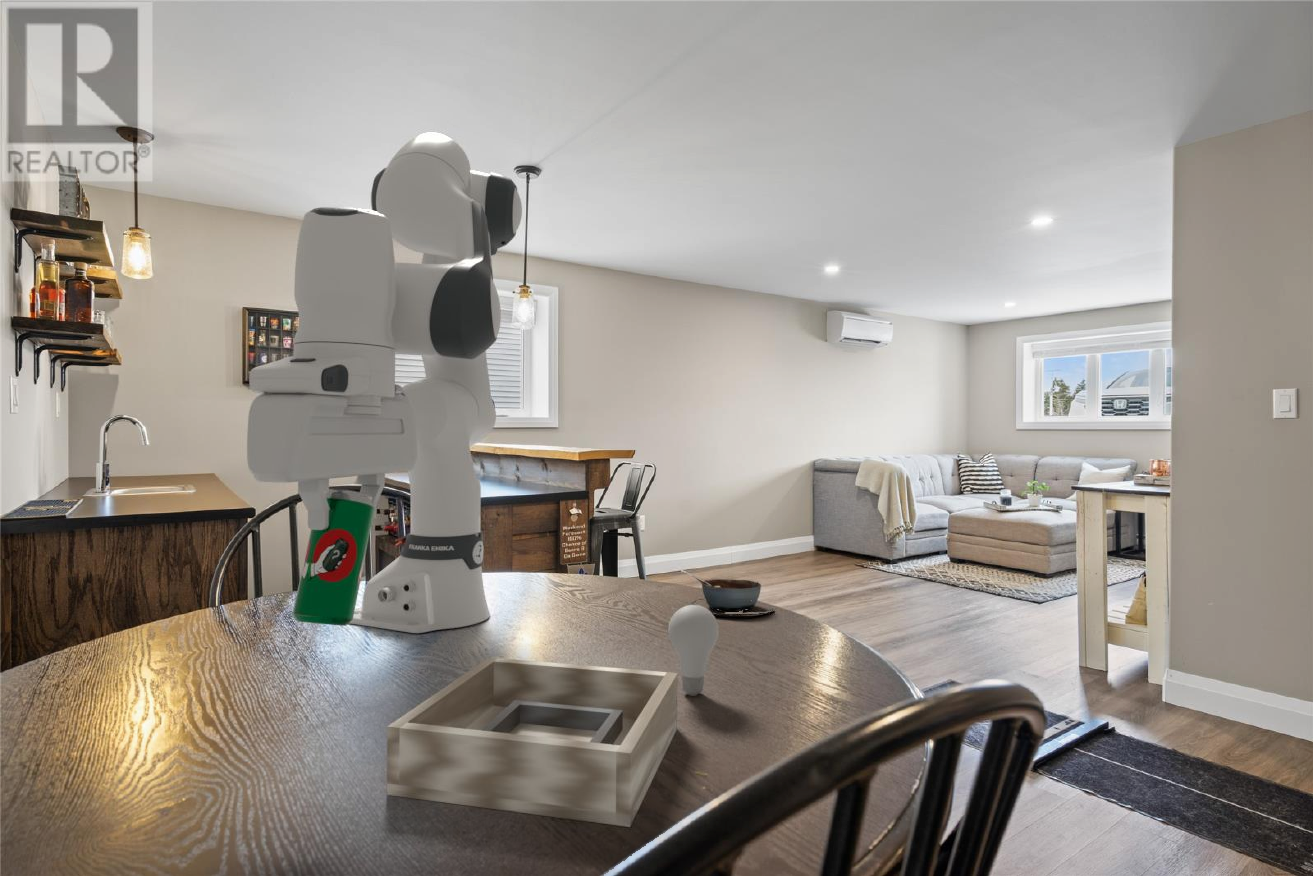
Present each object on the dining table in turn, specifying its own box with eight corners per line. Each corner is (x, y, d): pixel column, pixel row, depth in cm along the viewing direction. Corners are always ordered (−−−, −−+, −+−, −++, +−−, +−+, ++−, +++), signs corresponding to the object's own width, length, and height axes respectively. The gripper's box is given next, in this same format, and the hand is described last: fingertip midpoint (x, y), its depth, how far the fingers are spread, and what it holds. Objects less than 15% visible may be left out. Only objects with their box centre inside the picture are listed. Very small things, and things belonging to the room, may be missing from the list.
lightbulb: (665, 687, 91) (666, 599, 91) (713, 686, 91) (714, 599, 91) (670, 706, 85) (671, 612, 85) (722, 704, 85) (723, 611, 85)
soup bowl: (752, 629, 119) (752, 584, 119) (668, 615, 127) (668, 573, 127) (786, 611, 131) (787, 570, 131) (708, 599, 140) (708, 561, 140)
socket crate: (386, 794, 64) (387, 726, 63) (488, 709, 83) (488, 657, 83) (630, 827, 59) (630, 753, 59) (677, 728, 78) (677, 673, 78)
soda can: (363, 627, 66) (388, 498, 70) (313, 622, 62) (342, 486, 66) (328, 624, 69) (354, 500, 72) (278, 619, 65) (308, 488, 68)
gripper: (381, 385, 79) (379, 511, 80) (233, 369, 59) (231, 538, 60) (433, 385, 78) (431, 513, 78) (299, 369, 58) (297, 542, 58)
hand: (343, 524), depth 69 cm, fingers closed on soda can, 5 cm apart
